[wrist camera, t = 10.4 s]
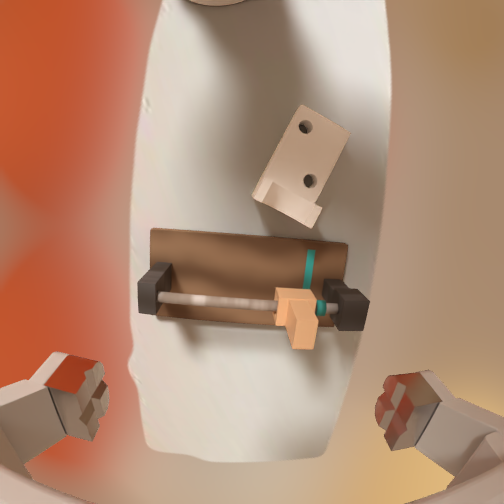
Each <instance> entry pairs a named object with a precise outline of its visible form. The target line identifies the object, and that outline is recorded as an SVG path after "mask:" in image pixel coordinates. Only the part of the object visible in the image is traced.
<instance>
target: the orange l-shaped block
mask: <svg viewBox="0 0 504 504" xmlns="http://www.w3.org/2000/svg"><path fill="white" fill-rule="evenodd" d="M274 300H275V301H278V305H277V312H275V311H273V317H274V321H275V325H276V326H285V327H286V330H287V333H288V336H289V340H290V343H291V346H292V349H313V348H314V343H315V338H316V333H317V327H318V322H319V321H318V319H317V317H316V315H315V308H316V302H317V299H316V298H315V296H314V294H313V293H312V291H311V290H310V289H294V288H278V287H276V290H275V299H274Z"/></svg>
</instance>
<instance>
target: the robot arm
mask: <svg viewBox="0 0 504 504" xmlns="http://www.w3.org/2000/svg"><path fill="white" fill-rule="evenodd" d="M189 1H192V2H194V3H198V4H202V5H211V6H221V5H230V4H235V3H238V2H242V1H244V0H189ZM104 374H105V372H104V368H103V364H102V363H101V362H99V361H95V360H90V359H86V358H82V357H78V356H74V355H68V354H65V353H61V352H53V353H52V354H51V355H50V357H49V358H48V359H47V360H46V361H45V363H43V365H42V366H41V367H40V368H39V369H38V370H37V372H36V373H35V374H34V375H33V376H32V377H31V379H30V380H29V381H28V380H22V381H19V382H17V383H14V384H11V385H8V386H5V387H3V388H0V504H96V503H93V502H89V501H86V500H83V499H80V498H77V497H74V496H72V495H69V494H66V493H63V492H61V491H58V490H56V489H53V488H51V487H48V486H46V485H43V484H41V483H39V482H37V481H34V480H33V479H32V476H31V475H30V473H29V472H28V470H27V469H26V468H25V466H24V464H25V463H26V462H28V461H29V460H31V459H33V458H34V457H36V456H37V455H39V454H40V453H42V452H43V451H45V450H46V449H48V448H49V447H51V446H52V445H54V444H55V443H57V442H58V441H60V440H61V439H63V438H64V437H66V435H69V436H73V437H77V438H80V439H84V440H88V441H93V439H94V437H95V435H96V432H97V430H98V428H99V422H98V419H99V418H101V417H103V416H104V415H105V413H106V411H107V409H108V404H109V391H108V386H107V385H106V383H105V382H104V381H103V380H102V378H103V376H104ZM383 388H384V391H385V392H384V393H383V394H382V395H381V396H380V397H378V400H377V403H376V405H375V417H376V421H377V423H378V425H379V426H380V427H382V428H383V429H385V430H386V432H385V434H384V437H385V439H386V441H387V443H388V445H389V447H390V449H391V451H394V450H399V449H404V448H409V447H414V446H415V448H416V449H417V450H419V451H420V452H421V453H423V454H424V455H425V456H427V457H428V458H429V459H431V460H432V461H434V462H435V463H436V464H438V465H439V466H441V467H442V468H443V469H445V470H446V471H448V472H449V473H450V474H452V475H453V476H455V478H454V479H453V480H452V481H451V482H450V484H449V485H448V486H447V488H446V490H443V491H441V492H438V493H435V494H433V495H430V496H427V497H424V498H421V499H418V500H415V501H412V502H409V503H406V504H504V417H502V416H500V415H497V414H495V413H493V412H490V411H488V410H486V409H483V408H481V407H479V406H476V405H474V404H472V403H470V402H468V401H465V400H463V399H461V398H457V399H456V398H455V397H454V396H453V394H452V393H451V392H450V391H449V390H448V389H447V387H446V386H445V385H444V384H443V383H442V381H441V380H440V379H439V378H438V377H437V376H436V374H435V373H434V372H433V371H430V370H425V371H419V372H416V373H408V374H399V375H390V376H388V377H387V378H386V380H385V382H384V384H383Z"/></svg>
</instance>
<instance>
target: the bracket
mask: <svg viewBox="0 0 504 504" xmlns="http://www.w3.org/2000/svg"><path fill="white" fill-rule="evenodd" d="M299 124H301V125H304V126H305V127H306V128H307V134H304V133H302V132H301V131H300V130H299ZM350 134H351V133H350V132H349V131H347V130H345V129H344V128H342V127H341V126H339V125H337V124H336V123H334V122H332V121H331V120H329V119H327V118H325V117H324V116H322V115H320V114H319V113H317V112H315V111H313V110H311V109H310V108H308V107H306V106H304V105H302V104H301V105H300V106H299V108H298V109H297V110H296V112H295V114H294V116H293V117H292V119H291V121H290V123H289V125H288V127H287V128H286V130H285V132H284V134H283V136H282V138H281V140H280V142H279V143H278V145H277V147H276V149H275V151H274V153H273V155H272V157H271V158H270V160H269V162H268V164H267V166H266V168H265V170H264V172H263V174H262V176H261V178H260V179H259V181H258V183H257V185H256V187H255V189H254V191H253V193H252V195H251V196H252V197H253V198H254V199H255V200H257V201H259V202H261V203H264V204H266V205H268V206H270V207H272V208H274V209H276V210H278V211H280V212H282V213H284V214H286V215H288V216H290V217H291V218H293V219H295V220H297V221H298V222H300V223H302V224H303V225H305V226H307V227H309V228H311V229H312V227H313V225H314V223H315V222H316V220H317V218H318V216H319V214H320V212H321V210H322V207H320V206H318V205H316V204H315V202H316V200H317V198H318V197H319V195H320V193H321V191H322V189H323V187H324V185H325V183H326V181H327V179H328V177H329V175H330V173H331V172H332V170H333V168H334V166H335V164H336V162H337V160H338V158H339V156H340V154H341V152H342V150H343V148H344V146H345V144H346V142H347V140H348V138H349V136H350ZM307 174H308V175H310V176H311V177H312V180H313V182H312V185H311V186H310V187H308V188H307V187H306V186H305V185H304V182H303V179H304V177H305V176H306V175H307Z"/></svg>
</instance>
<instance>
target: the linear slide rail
mask: <svg viewBox="0 0 504 504" xmlns="http://www.w3.org/2000/svg"><path fill="white" fill-rule="evenodd" d="M347 250H348V245H347V244H345V243H339V242H328V241H316V240H305V239H293V238H282V237H269V236H257V235H245V234H232V233H219V232H205V231H191V230H177V229H163V228H152V229H151V230H150V270H149V271H148V272H147V273H146V274H145V275H144V276H143V277H142V278H141V279H140V280H139V281H138V309H139V313H142V314H151V315H158V316H167V317H176V318H186V319H196V320H208V321H220V322H233V323H248V324H265V325H275V321H274V317H273V311H275V312H277V305H278V301H275V300H274V299H275V290H276V287H278V288H294V289H310V290H311V291H312V293H313V294H314V296H315V298H316V299H317V302H316V308H315V315H316V317H317V319H318V321H319V322H318V327H334V324H335V326H336V327H337V329H338V330H339V331H363V329H364V325H365V321H366V316H367V312H368V308H369V303H370V301H369V300H368V299H367V298H366V297H365V296H364V295H363V294H362V293H361V292H360V291H359V290H358V289H349V288H348V287H347V286H346V284H345V283H344V282H343V275H344V269H345V263H346V257H347Z"/></svg>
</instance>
